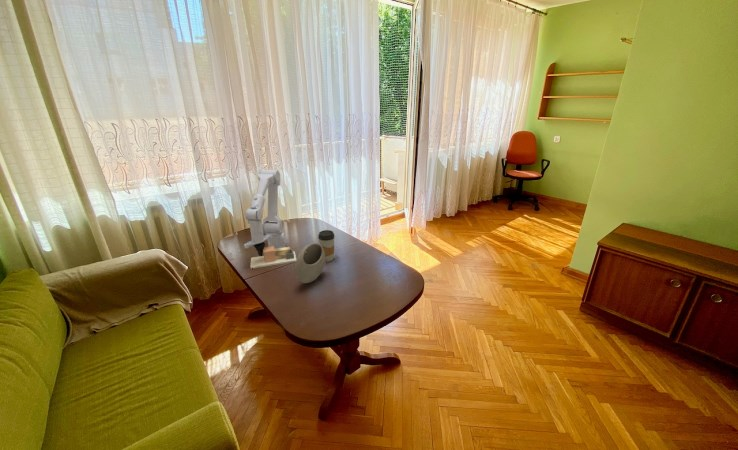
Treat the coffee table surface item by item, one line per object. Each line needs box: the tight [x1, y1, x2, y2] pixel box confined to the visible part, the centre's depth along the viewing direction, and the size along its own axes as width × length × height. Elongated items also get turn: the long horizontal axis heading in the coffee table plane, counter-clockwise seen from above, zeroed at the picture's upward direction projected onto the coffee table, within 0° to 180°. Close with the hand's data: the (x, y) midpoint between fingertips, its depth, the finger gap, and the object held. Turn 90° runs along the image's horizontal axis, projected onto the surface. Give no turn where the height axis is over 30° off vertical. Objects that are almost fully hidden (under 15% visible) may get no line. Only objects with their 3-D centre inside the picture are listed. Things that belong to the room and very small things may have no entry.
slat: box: [274, 246, 291, 260], centre depth 154 cm, size 12×3×5 cm, turn 108°
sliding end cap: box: [263, 246, 276, 262], centre depth 153 cm, size 5×6×6 cm
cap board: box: [250, 248, 297, 269], centre depth 154 cm, size 22×10×4 cm, turn 108°
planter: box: [294, 242, 326, 284], centre depth 134 cm, size 18×7×19 cm, turn 148°
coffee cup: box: [317, 229, 335, 263], centre depth 154 cm, size 8×8×15 cm
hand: (260, 255), depth 152 cm, fingers closed
